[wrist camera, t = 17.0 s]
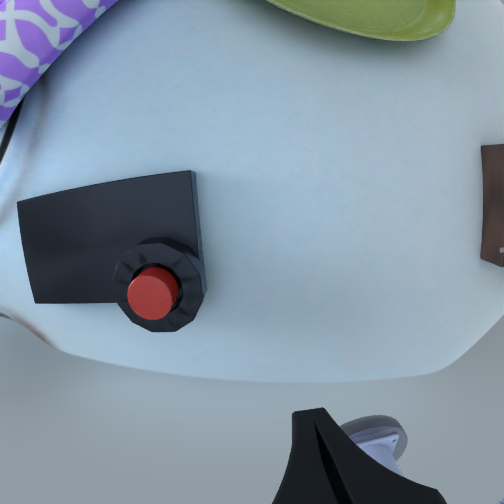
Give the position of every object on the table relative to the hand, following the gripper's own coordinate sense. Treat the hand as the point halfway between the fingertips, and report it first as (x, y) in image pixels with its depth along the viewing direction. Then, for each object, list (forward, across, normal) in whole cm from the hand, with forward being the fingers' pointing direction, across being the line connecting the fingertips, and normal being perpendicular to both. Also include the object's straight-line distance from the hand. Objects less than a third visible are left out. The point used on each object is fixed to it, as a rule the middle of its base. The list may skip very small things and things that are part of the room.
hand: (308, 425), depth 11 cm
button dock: (+10, +12, -7) cm, 17 cm away
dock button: (+7, +7, -4) cm, 11 cm away
